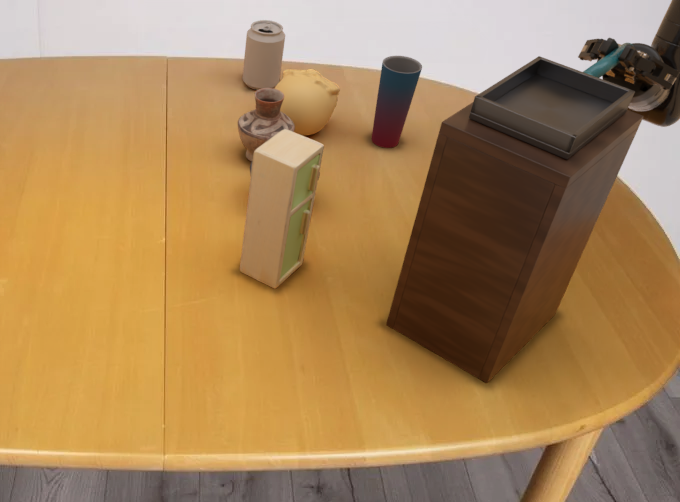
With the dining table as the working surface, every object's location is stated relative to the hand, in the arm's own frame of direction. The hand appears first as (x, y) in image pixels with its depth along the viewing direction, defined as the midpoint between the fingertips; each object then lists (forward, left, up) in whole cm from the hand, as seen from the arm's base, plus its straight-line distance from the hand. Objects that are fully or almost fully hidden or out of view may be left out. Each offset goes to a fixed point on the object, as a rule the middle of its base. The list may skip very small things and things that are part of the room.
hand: (616, 49), depth 111 cm
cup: (+37, -16, -36) cm, 54 cm away
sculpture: (+51, -8, -36) cm, 63 cm away
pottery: (+43, +10, -36) cm, 57 cm away
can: (+67, -16, -36) cm, 77 cm away
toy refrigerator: (+27, +29, -36) cm, 54 cm away
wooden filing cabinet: (0, +17, -35) cm, 39 cm away
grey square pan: (0, +9, -3) cm, 10 cm away
